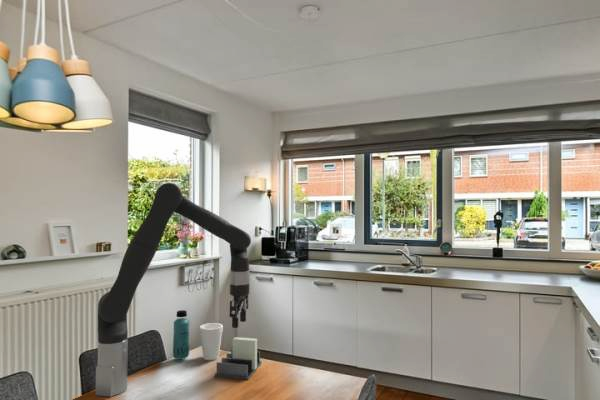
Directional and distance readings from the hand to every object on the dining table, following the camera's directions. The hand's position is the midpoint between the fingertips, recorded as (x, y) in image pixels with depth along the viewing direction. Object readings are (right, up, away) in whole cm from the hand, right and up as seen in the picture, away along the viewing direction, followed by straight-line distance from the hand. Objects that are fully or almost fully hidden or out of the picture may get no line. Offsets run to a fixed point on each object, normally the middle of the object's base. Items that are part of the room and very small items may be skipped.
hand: (239, 324), depth 159 cm
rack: (0, -17, 0) cm, 17 cm away
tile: (+2, -16, -1) cm, 17 cm away
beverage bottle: (-25, -18, +10) cm, 33 cm away
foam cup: (-14, -18, +13) cm, 26 cm away
